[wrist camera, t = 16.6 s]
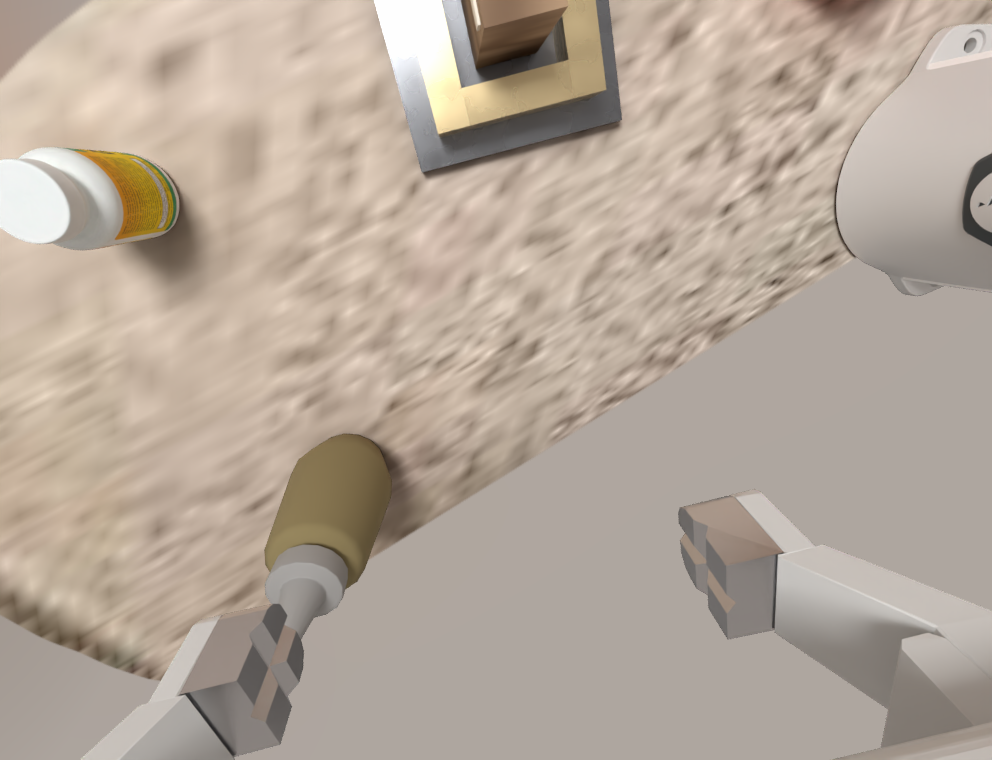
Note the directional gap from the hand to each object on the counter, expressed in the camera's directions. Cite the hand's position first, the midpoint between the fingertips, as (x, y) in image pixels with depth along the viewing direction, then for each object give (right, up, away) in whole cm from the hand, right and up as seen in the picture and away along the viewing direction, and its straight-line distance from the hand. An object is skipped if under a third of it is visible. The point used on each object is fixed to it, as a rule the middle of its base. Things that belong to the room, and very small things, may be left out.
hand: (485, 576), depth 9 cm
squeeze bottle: (-13, -3, +32) cm, 35 cm away
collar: (0, +26, +20) cm, 33 cm away
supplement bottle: (-24, +17, +23) cm, 37 cm away
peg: (0, +26, +20) cm, 33 cm away
